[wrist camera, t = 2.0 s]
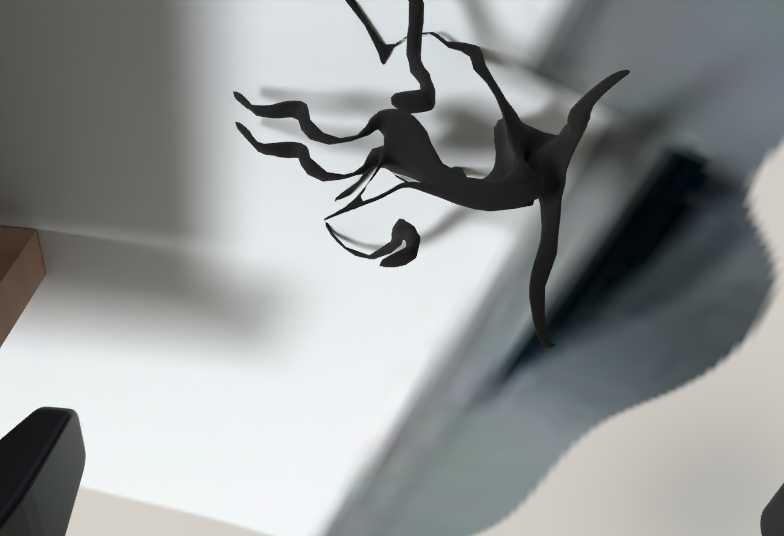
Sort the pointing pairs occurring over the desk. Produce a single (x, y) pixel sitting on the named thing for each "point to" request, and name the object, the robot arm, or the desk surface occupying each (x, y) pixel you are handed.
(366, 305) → the desk surface
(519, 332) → the desk surface
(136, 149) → the desk surface
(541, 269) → the creature
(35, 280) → the wooden stand
